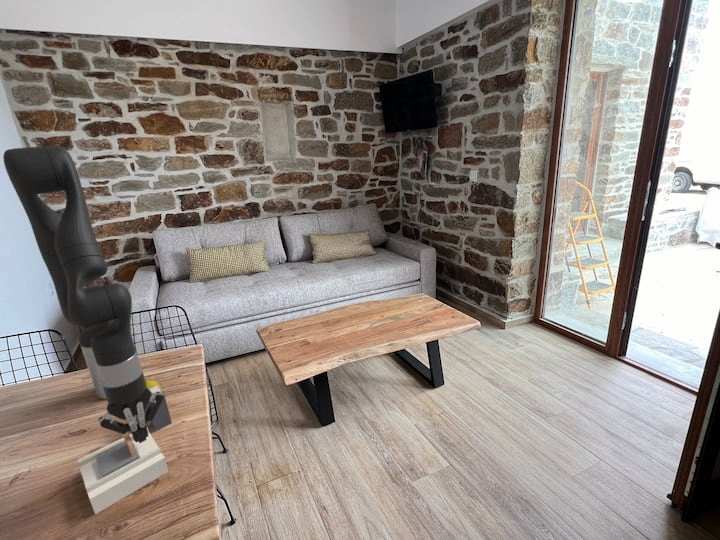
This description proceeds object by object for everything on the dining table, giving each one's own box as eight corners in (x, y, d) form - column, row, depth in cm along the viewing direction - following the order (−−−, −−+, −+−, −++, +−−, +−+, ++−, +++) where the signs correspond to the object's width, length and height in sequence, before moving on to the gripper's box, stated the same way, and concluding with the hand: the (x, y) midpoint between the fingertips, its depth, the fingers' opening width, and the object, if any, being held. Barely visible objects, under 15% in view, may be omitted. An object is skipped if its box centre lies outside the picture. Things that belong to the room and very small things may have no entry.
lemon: (155, 412, 103) (148, 387, 100) (138, 410, 104) (130, 386, 101) (168, 399, 108) (162, 375, 105) (152, 397, 109) (145, 374, 106)
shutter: (96, 459, 82) (91, 446, 81) (131, 441, 87) (127, 429, 85) (103, 478, 77) (98, 464, 76) (140, 458, 82) (136, 445, 81)
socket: (82, 473, 84) (75, 456, 82) (149, 439, 93) (144, 423, 91) (95, 514, 74) (88, 495, 73) (168, 471, 83) (163, 454, 82)
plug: (150, 423, 98) (141, 391, 95) (166, 416, 101) (158, 384, 98) (155, 431, 96) (146, 398, 92) (171, 423, 98) (163, 390, 95)
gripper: (150, 356, 86) (166, 417, 92) (81, 382, 77) (104, 448, 83) (161, 368, 81) (177, 432, 86) (89, 398, 72) (112, 466, 78)
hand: (141, 440), depth 85 cm, fingers closed
